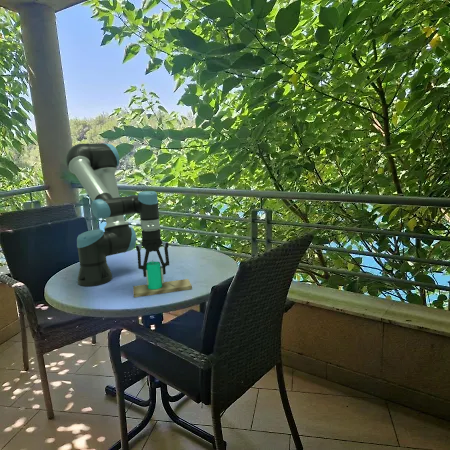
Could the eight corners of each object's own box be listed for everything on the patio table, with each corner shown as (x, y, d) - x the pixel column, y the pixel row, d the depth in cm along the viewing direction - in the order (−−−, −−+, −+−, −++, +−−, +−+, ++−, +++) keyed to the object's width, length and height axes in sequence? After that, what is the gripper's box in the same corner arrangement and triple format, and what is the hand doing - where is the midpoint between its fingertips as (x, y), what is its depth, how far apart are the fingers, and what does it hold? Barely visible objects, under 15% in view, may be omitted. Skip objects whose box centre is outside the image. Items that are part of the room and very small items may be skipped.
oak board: (133, 297, 137) (133, 294, 136) (133, 289, 145) (133, 286, 145) (192, 289, 143) (191, 285, 143) (188, 282, 151) (188, 278, 151)
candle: (159, 289, 139) (156, 262, 137) (145, 289, 140) (142, 261, 138) (164, 284, 145) (162, 257, 143) (151, 284, 146) (148, 257, 144)
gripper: (127, 233, 132) (133, 288, 137) (174, 228, 137) (178, 282, 141) (127, 229, 139) (132, 282, 144) (172, 225, 144) (175, 277, 148)
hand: (155, 282), depth 142 cm, fingers closed on candle, 5 cm apart
